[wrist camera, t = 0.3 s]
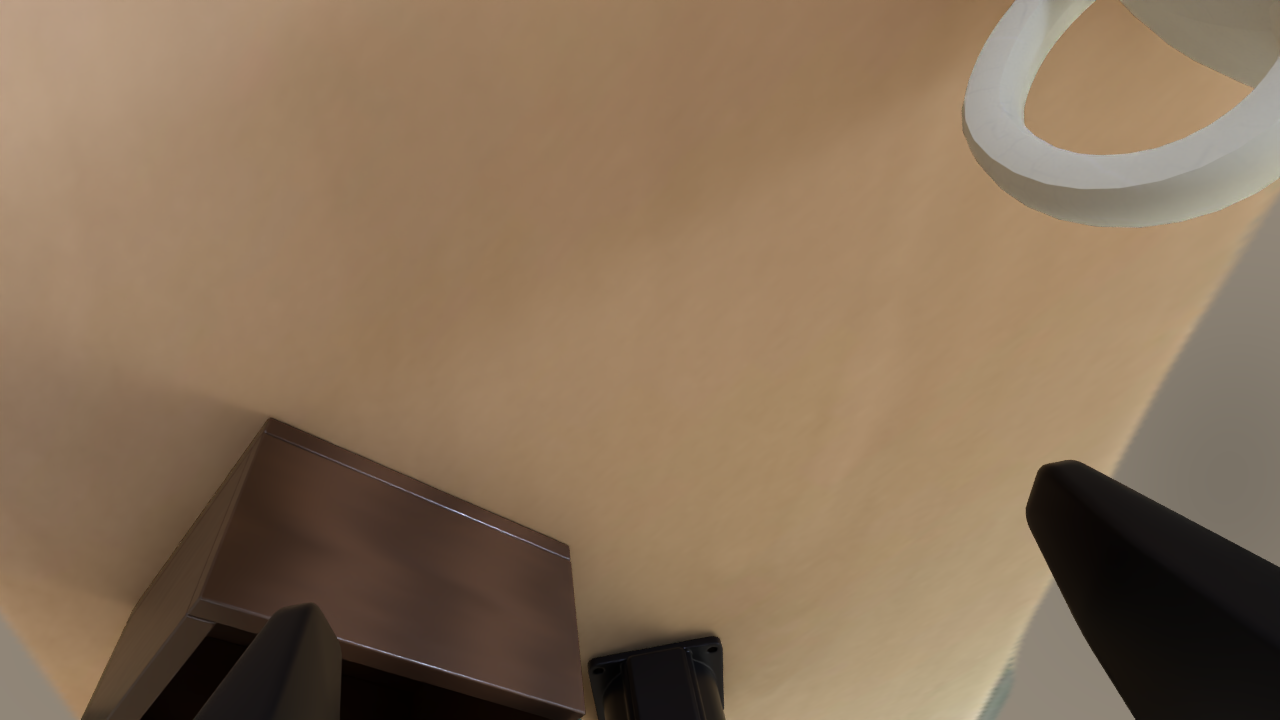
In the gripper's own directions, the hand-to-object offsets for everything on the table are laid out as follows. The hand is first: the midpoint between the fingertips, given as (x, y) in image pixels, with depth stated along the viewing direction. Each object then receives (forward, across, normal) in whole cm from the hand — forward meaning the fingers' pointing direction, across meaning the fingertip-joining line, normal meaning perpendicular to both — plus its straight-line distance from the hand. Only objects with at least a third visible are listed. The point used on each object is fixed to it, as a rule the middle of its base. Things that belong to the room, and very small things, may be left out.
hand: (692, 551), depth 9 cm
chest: (+15, +11, +16) cm, 25 cm away
